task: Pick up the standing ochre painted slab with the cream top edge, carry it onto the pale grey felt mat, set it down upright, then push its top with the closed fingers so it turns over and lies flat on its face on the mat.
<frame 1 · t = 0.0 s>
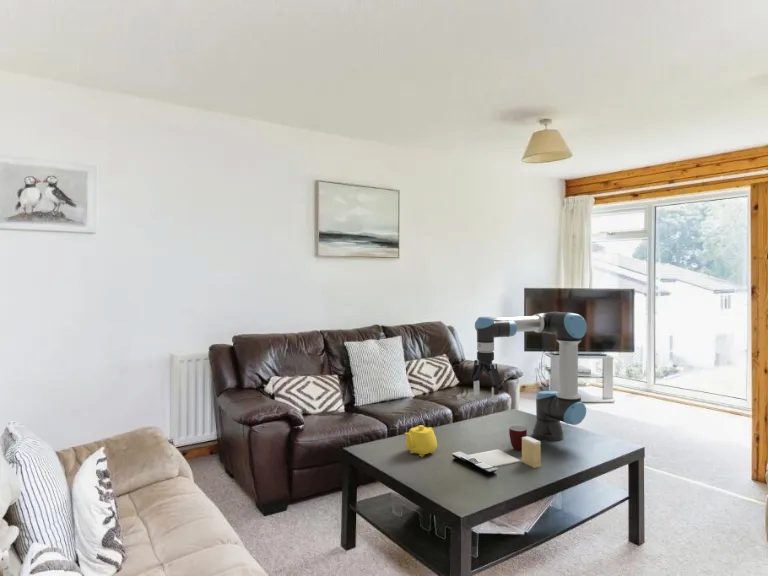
hand: (485, 398, 225), 28 cm above the table, fingers open, 13 cm apart
mug: (519, 450, 238), on the table
mat: (490, 459, 226), on the table
slab: (531, 464, 220), on the table
teapot: (419, 453, 234), on the table
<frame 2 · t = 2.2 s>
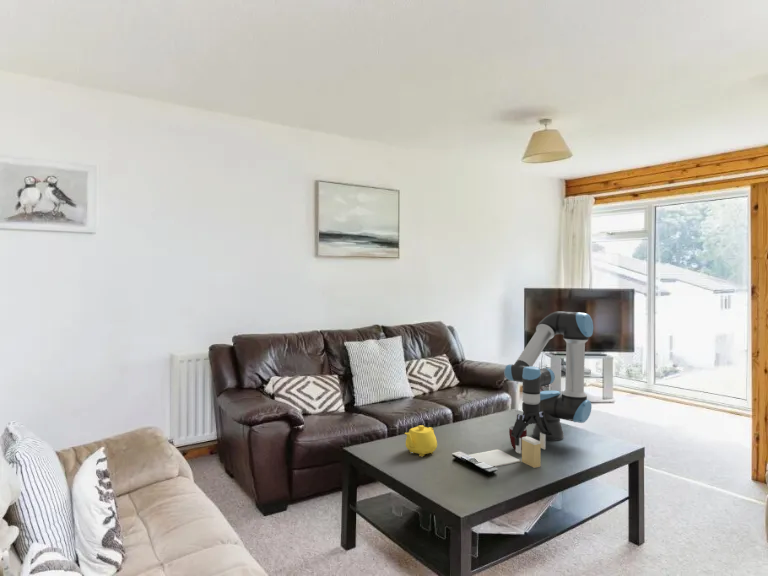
hand: (530, 450, 220), 6 cm above the table, fingers open, 13 cm apart
nothing on the table moved.
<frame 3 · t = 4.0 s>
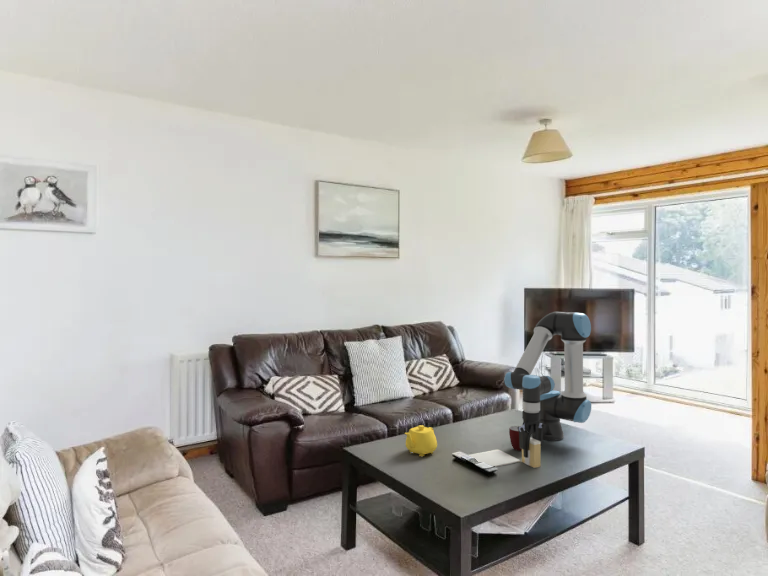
hand: (531, 463, 220), 0 cm above the table, fingers closed on slab, 3 cm apart
slab: (531, 464, 220), on the table, touching gripper
everything else where it was.
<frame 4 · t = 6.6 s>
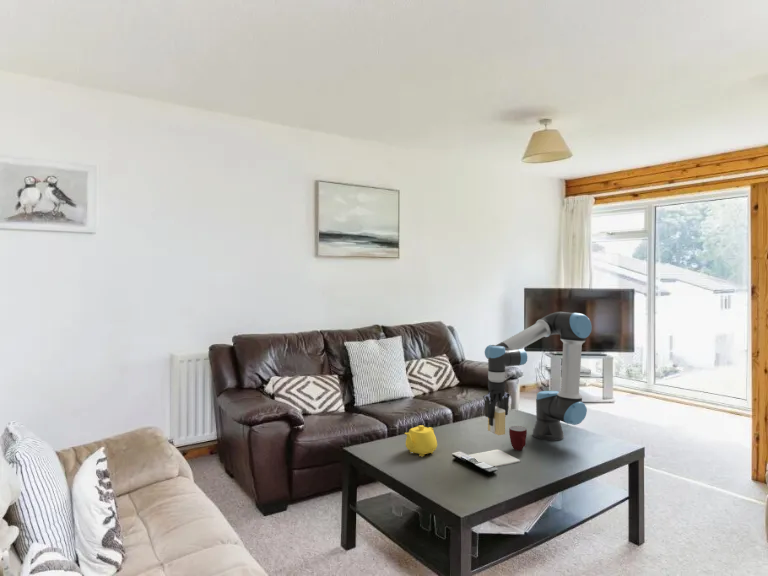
hand: (496, 431, 227), 12 cm above the table, fingers closed on slab, 3 cm apart
slab: (496, 432, 227), point 12 cm above the table, touching gripper
everything else where it was.
when the fingers open (1 cm above the table, at t = 9.0 s): slab stays where it is, resting on mat.
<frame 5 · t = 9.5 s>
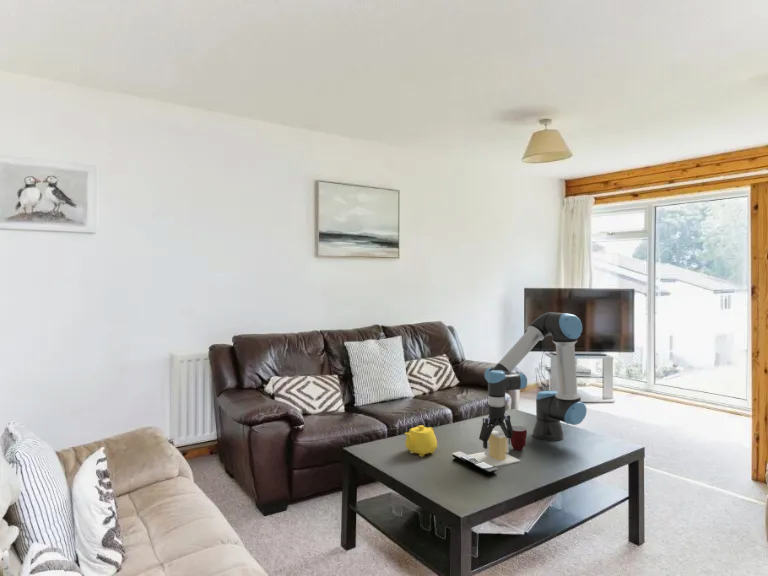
hand: (496, 453, 227), 2 cm above the table, fingers open, 10 cm apart
slab: (496, 457, 227), point 1 cm above the table, touching mat
everything else where it was.
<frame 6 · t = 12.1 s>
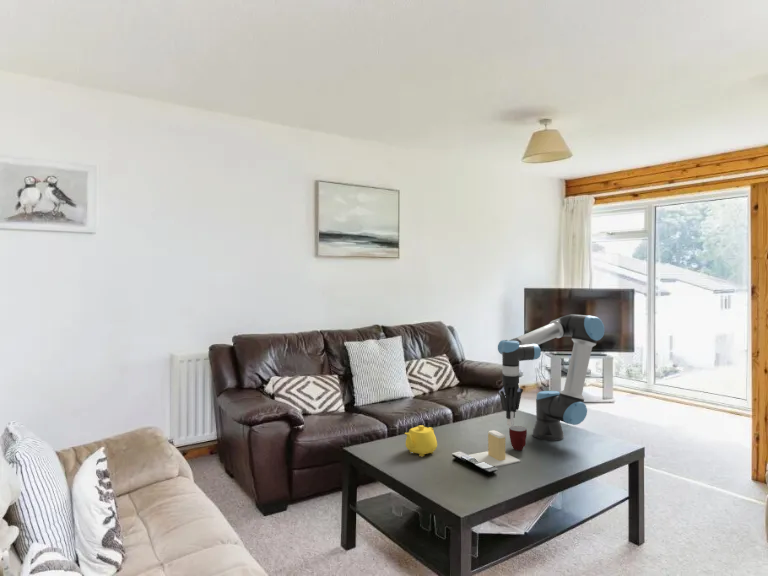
hand: (510, 425, 230), 14 cm above the table, fingers closed
nothing on the table moved.
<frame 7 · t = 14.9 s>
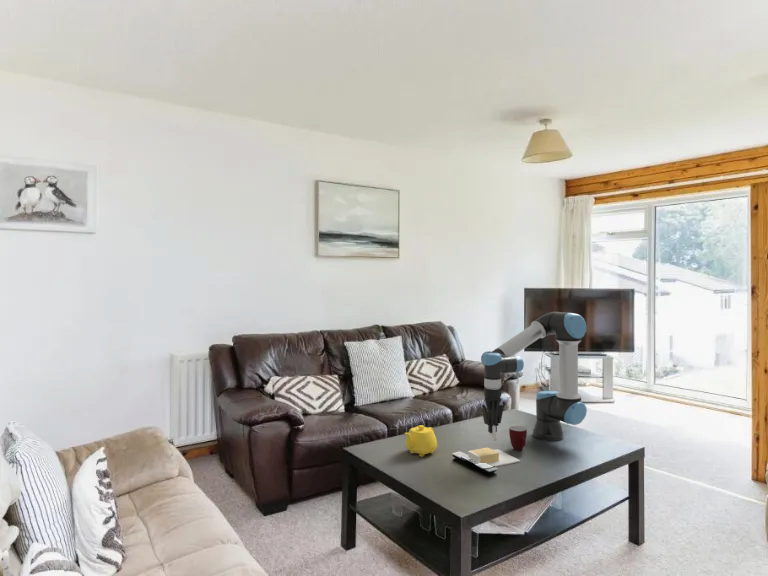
hand: (492, 439, 226), 9 cm above the table, fingers closed
slab: (493, 453, 226), point 2 cm above the table, tilted 90°, touching mat
everything else where it was.
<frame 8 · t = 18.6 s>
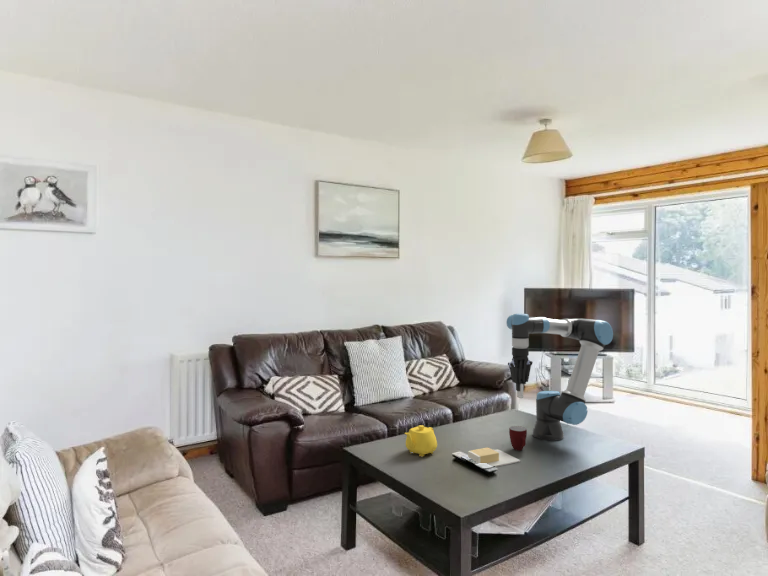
hand: (520, 397, 232), 26 cm above the table, fingers closed
nothing on the table moved.
at the end: slab tilted 90°; slab inside the target area (1.7 cm from its centre), point 2.3 cm above the table; the gripper is holding nothing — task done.
